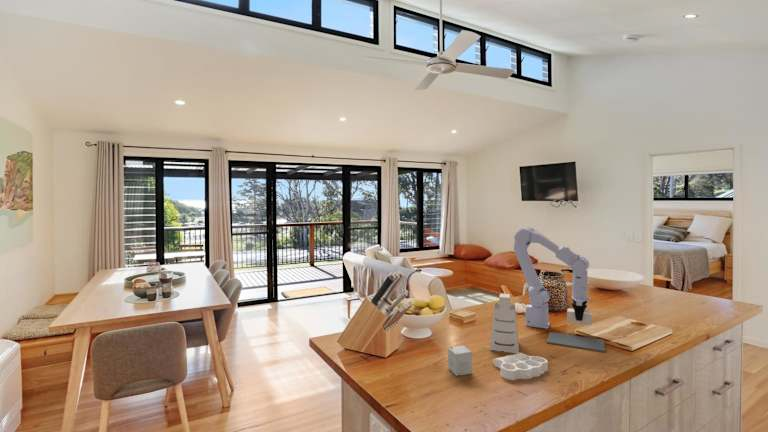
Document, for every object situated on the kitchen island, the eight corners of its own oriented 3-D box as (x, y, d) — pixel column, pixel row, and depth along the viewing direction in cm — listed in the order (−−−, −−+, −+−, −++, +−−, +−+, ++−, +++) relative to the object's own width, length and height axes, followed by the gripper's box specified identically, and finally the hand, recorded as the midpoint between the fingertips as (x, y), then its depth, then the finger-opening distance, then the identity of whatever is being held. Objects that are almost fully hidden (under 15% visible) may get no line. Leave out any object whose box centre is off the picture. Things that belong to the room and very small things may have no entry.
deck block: (567, 321, 162) (567, 311, 161) (567, 318, 166) (567, 308, 166) (591, 325, 157) (591, 314, 157) (591, 321, 162) (591, 311, 161)
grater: (518, 343, 152) (519, 293, 151) (518, 353, 142) (519, 300, 141) (491, 340, 155) (491, 291, 154) (489, 350, 145) (489, 298, 144)
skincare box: (472, 373, 126) (472, 351, 126) (455, 376, 124) (455, 354, 124) (463, 366, 132) (463, 345, 132) (447, 368, 130) (447, 347, 130)
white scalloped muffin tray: (524, 357, 139) (558, 374, 125) (485, 367, 131) (516, 386, 118) (525, 348, 139) (558, 364, 125) (485, 357, 131) (516, 375, 118)
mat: (546, 343, 151) (546, 341, 151) (549, 333, 162) (549, 331, 162) (604, 352, 142) (604, 350, 142) (604, 341, 152) (604, 339, 152)
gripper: (590, 291, 153) (589, 324, 153) (590, 283, 165) (590, 314, 166) (570, 289, 156) (570, 322, 157) (572, 282, 169) (572, 312, 169)
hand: (579, 318), depth 162 cm, fingers closed on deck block, 5 cm apart
